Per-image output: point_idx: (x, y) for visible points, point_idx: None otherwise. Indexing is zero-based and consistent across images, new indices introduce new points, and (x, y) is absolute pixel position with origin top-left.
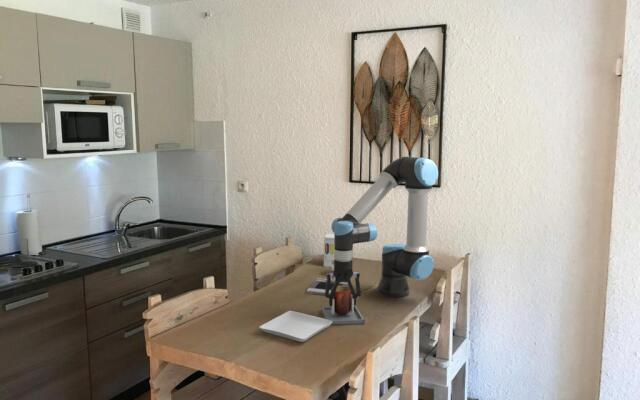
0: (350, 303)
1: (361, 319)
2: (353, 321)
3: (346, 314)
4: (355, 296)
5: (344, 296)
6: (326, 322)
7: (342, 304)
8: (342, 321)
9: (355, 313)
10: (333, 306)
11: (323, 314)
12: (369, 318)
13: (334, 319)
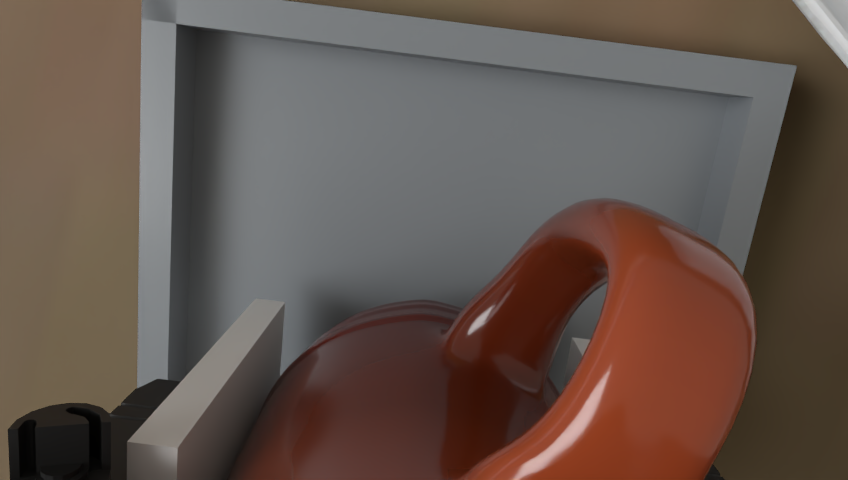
0: (249, 434)
1: (189, 18)
2: (341, 10)
3: None
4: (44, 472)
5: (407, 473)
6: (839, 11)
7: (458, 365)
8: (531, 35)
9: None
10: None
11: None
12: (47, 211)
13: None
